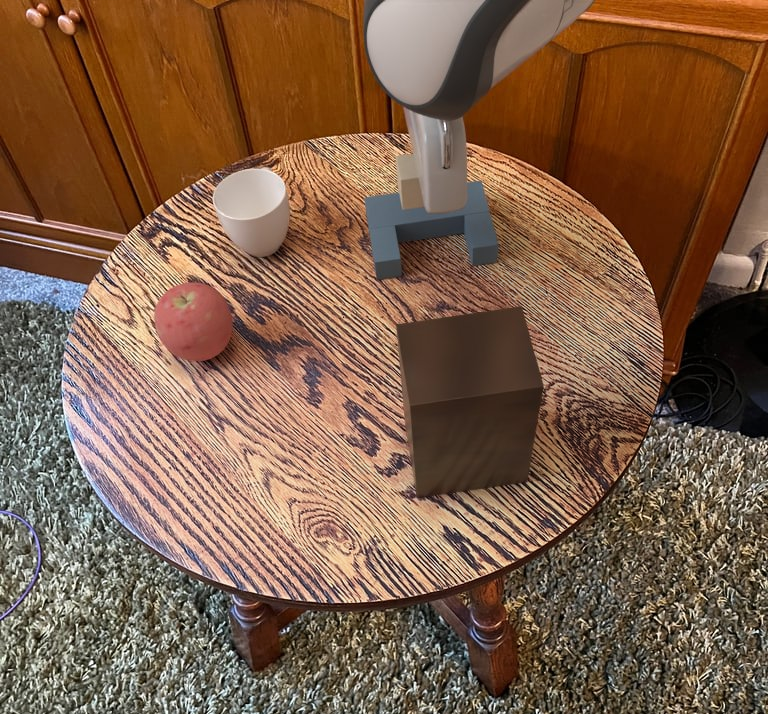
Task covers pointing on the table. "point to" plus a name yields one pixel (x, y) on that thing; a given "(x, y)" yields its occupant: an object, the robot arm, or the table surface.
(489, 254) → the u-shaped bracket
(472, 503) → the table surface
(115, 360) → the table surface
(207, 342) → the apple
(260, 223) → the cup
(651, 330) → the table surface
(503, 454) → the block
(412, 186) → the beige block
